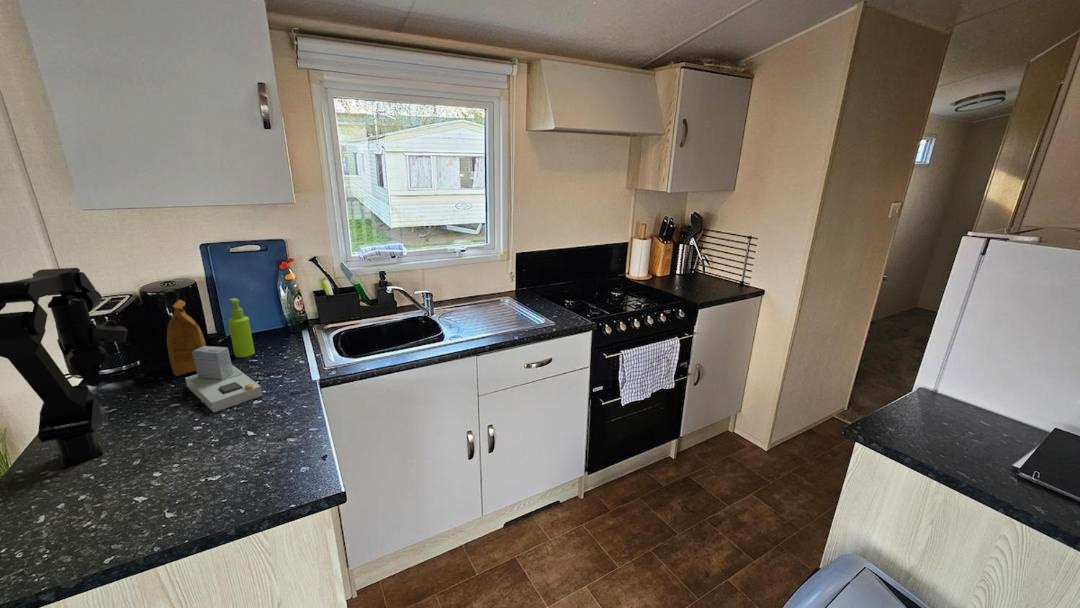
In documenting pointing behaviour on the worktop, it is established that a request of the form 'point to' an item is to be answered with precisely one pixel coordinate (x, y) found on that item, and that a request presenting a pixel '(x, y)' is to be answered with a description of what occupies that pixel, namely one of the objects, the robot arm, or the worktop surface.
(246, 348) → the soap dispenser
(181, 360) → the amber trigger bottle
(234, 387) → the push button
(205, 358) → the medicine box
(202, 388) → the switch panel
